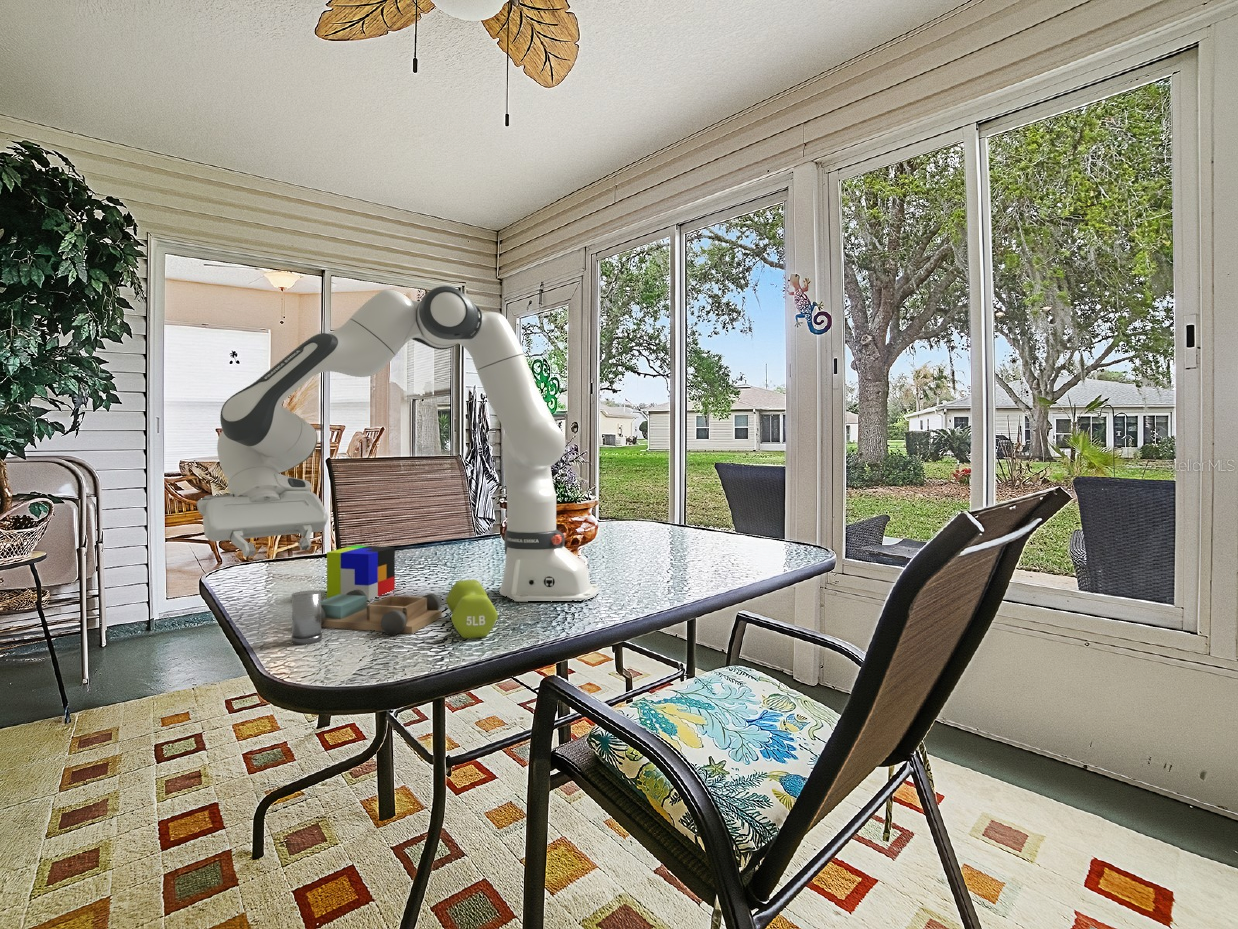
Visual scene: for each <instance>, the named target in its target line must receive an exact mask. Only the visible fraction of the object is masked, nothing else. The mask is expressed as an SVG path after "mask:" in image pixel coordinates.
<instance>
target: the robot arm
mask: <svg viewBox="0 0 1238 929" xmlns="http://www.w3.org/2000/svg"><path fill="white" fill-rule="evenodd" d="M411 340H413V341H415V342H418V343H421V344H422V345H425V346H427V347H429V348H432V349H434V350H441V351H442V350H444V351H445V350H449V349H452V348H454V347H456V346H457V345H461V346H462V347H463V348H464V349H466V351H467V353H468V354H469V355H470V357H471V358H472V362H473V364H474V367H475V370H476V372H477V375H478V377H479V380H480V383H481V385H482V387H483V390H484V393H485V396H486V398H487V401H488V403H489V405H490V407H491V408H492V410H493V412H494V413H495V415H496V417H497V418H498V420H499V422H500V424H501V426H502V428H503V430H504V432H505V433H504V435H503V438H502V440H501V441H502V442H501V444H502V458H503V469H504V480H505V487H506V530H505V531H504V554H505V563H504V571H503V577H502V580H501V584H500V588H499V592H500V593H499V592H498V593H499V594H500V595H501V596H504V597H506V596H507V597H506V598H509V599H510V600H511V599H513V600H514V601H513V600H512V601H513V602H528V601H551V602H552V601H572V600H583V599H588V598H590V597H592V596H594V595H595V594H596V593H597V592H598V591H599V590H600V587H599V585H598V584H594V583H591V579H590V573H589V572H590V571H589V568H588V566H587V564H586V563H585V562H584V561H583V560H582V559H580V558H579V557H578V556H577V555H575V554H574V553H573V552H572V551H570V550H569V549H568V548H567V547H565V539H566V535H567V533H566V532H563V533H562V532H561V531H560V530H558V528H557V493H556V489H555V485H554V482H553V475H552V468H551V467H552V466H554V465H555V464H556V463H558V461H560V459H561V458H562V457H563V456H564V453H565V450H566V445H567V443H566V438H565V435H564V433H563V431H562V430H561V428H560V427H559V426H558V424H557V423H556V420H555V418H554V416H553V415H552V413H551V410H550V409H549V407H548V405H547V403H546V402H545V400H544V398H543V396H542V394H541V392H540V391H539V389H538V386H537V384H536V381H535V379H534V376H533V374H532V371H531V369H530V366H529V363H528V361H527V358H526V355H525V353H524V351H523V347H522V345H521V342H520V341H519V339H518V337H517V335H516V333H515V332H514V329H513V328H512V325H511V324H510V322H509V321H508V320H507V318H506V317H505V316H504V315H503V314H502V313H499V312H495V311H485V312H482V309H481V308H479V306H477V305H476V304H475V303H474V302H473V301H472V300H471V299H470V298H469V297H468V296H466V294H465V293H464V292H462V291H461V290H459V289H457V288H455V287H452V286H447V285H442V286H441V285H440V286H438V287H434V288H432V289H430V290H428V291H427V292H426V293H424V296H422V298H421V300H416V301H415V300H412V299H410V298H409V297H408V296H406V295H405V294H404V293H402V292H400V291H397V290H394V289H387V288H386V289H383V290H381V291H379V292H377V293H376V294H375V295H374V296H372V297H371V298H370V299H369V300H367V301H366V302H364V304H363V305H361V306H360V307H359V308H358V309H357V310H356V311H355V312H354V313H353V314H352V315H351V316H350V317H349V318H348V320H347V321H346V322H344V323H343V324H342V325H341V326H340V327H338V328H336V329H335V330H333V331H331V332H329V333H326V332H321V333H317V334H315V335H312V336H311V337H310V338H308V339H307V340H305V341H304V342H302V343H301V344H300V345H299V346H296V348H295V349H293V351H291V352H290V353H289V354H287V355H286V356H285V357H284V358H282V359H281V360H280V361H279V362H277V363H276V364H275V365H274V366H273V367H271V368H270V369H269V370H268V371H266V372H265V373H264V374H263V375H262V376H260V377H259V378H258V379H256V381H254V382H253V383H251V384H250V385H248V386H246V387H244V388H242V389H241V390H239V391H237V392H236V393H235V394H233V395H232V396H230V397H229V398H228V399H227V400H226V401H225V402H224V404H223V405H222V407H221V410H220V415H219V416H220V426H221V429H222V431H221V432H220V433H219V437H218V439H217V445H216V446H217V447H216V448H217V449H216V450H217V456H218V460H219V464H220V465H219V466H220V467H221V470H222V474H223V476H224V477H225V478H226V479H227V489H228V492H229V493H228V494H219V495H213V494H208V495H205V496H204V497H203V498H202V497H201V498H200V499H199V500H197V502H196V507H197V511H198V513H199V514H200V515H201V516H202V523H203V524H202V525H203V527H202V528H203V531H204V536H205V539H207V540H209V541H211V542H220V541H221V542H223V541H230V542H231V544H232V545H233V546H235V547H236V548H237V549H239V550H240V551H241V552H242V555H243V558H247V557H254V556H255V554H256V547H255V544H254V542H248V541H247V540H246V539H254V538H264V537H276V536H287V535H298V534H300V536H301V538H300V539H299V541H298V543H297V544H298V547H299V550H300V551H307V550H308V551H309V550H310V549H311V547H312V541H311V539H310V537H311V534H312V533H317V532H318V533H319V532H320V533H321V532H322V531H323V529H324V528H325V526H326V525H327V522H328V519H329V515H328V512H327V511H326V509H325V506H324V504H323V503H322V500H321V499H320V498H319V496H318V495H317V494H316V493H314V492H313V491H311V490H312V484H311V482H310V481H308V480H306V479H302V478H301V479H300V478H295V477H291V476H289V475H285V474H283V473H285V472H287V471H289V470H293V469H294V468H295V467H297V466H299V465H301V464H303V463H305V462H306V461H307V460H309V458H310V457H311V456H312V455H313V454H314V453H315V451H316V448H317V445H318V432H317V429H316V428H315V426H314V425H312V424H310V422H308V421H306V420H305V419H304V418H302V417H301V416H300V415H298V414H296V413H293V412H292V411H291V410H289V409H288V408H287V407H284V405H282V404H283V403H284V401H285V400H287V398H289V397H290V396H291V395H292V394H294V393H295V392H296V391H297V390H298V389H300V388H301V387H302V386H303V385H305V384H306V383H307V382H308V381H309V380H310V379H311V378H312V377H314V376H316V375H318V374H321V373H324V372H325V373H326V372H332V373H333V372H334V373H340V374H343V375H347V376H349V377H355V378H356V377H358V378H367V377H368V378H369V377H371V376H375V375H377V374H378V373H380V372H381V371H382V370H383V369H385V368H386V366H388V365H389V363H390V362H391V361H392V359H394V357H395V356H396V355H397V354H398V352H399V351H400V350H401V349H402V348H403V347H404V345H406V344H407V343H408V342H409V341H411ZM551 602H550V603H551ZM552 603H553V602H552Z"/></svg>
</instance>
